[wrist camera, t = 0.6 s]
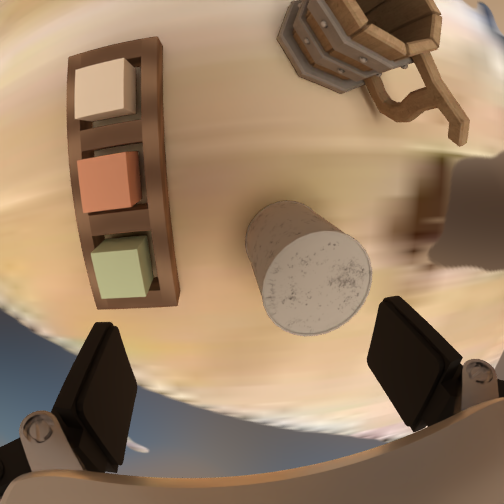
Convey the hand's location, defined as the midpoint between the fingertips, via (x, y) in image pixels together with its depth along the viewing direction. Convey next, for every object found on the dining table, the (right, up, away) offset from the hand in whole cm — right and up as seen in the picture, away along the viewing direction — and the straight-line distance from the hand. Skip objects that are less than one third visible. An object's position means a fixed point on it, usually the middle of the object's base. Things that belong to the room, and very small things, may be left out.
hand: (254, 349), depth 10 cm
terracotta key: (-14, +11, +18) cm, 25 cm away
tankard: (+11, +25, +19) cm, 33 cm away
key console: (-14, +12, +20) cm, 27 cm away
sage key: (-14, +3, +21) cm, 25 cm away
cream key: (-14, +19, +15) cm, 28 cm away
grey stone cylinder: (+4, +5, +25) cm, 26 cm away
